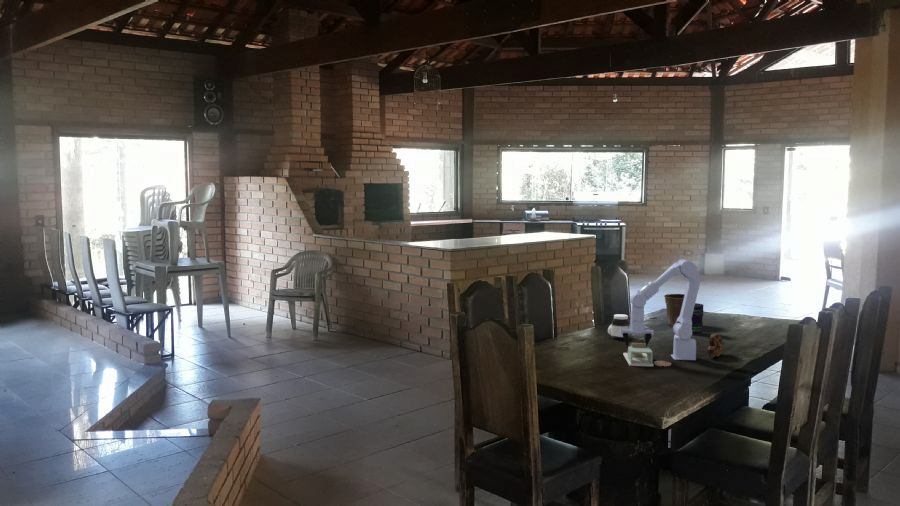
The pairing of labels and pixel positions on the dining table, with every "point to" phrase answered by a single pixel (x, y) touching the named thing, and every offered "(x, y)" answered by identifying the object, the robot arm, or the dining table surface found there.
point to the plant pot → (673, 307)
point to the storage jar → (697, 319)
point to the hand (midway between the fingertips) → (636, 350)
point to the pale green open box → (640, 351)
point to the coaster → (662, 363)
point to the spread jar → (618, 326)
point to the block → (636, 355)
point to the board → (638, 360)
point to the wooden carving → (715, 345)
